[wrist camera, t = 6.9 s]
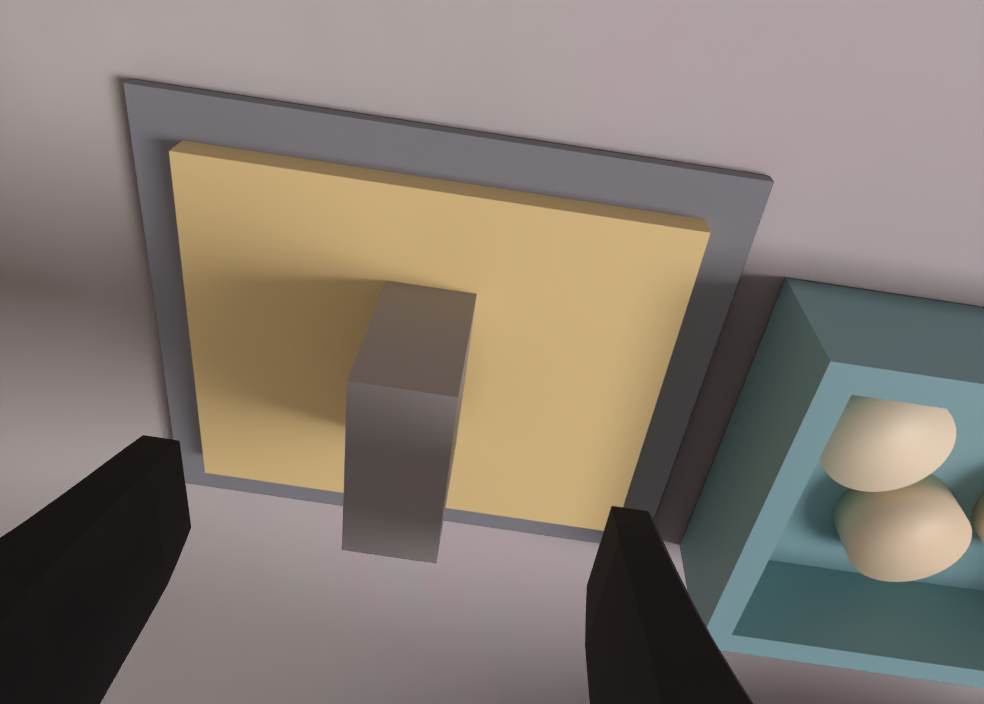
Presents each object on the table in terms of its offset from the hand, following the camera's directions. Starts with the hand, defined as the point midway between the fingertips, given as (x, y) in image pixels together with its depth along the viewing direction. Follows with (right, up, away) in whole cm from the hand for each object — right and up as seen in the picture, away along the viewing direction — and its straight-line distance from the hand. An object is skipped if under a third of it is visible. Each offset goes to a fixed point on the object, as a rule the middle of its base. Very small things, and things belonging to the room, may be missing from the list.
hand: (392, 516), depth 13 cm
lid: (0, +3, +4) cm, 5 cm away
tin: (+12, 0, +5) cm, 13 cm away
